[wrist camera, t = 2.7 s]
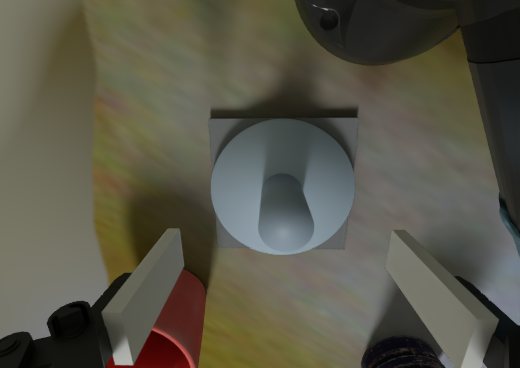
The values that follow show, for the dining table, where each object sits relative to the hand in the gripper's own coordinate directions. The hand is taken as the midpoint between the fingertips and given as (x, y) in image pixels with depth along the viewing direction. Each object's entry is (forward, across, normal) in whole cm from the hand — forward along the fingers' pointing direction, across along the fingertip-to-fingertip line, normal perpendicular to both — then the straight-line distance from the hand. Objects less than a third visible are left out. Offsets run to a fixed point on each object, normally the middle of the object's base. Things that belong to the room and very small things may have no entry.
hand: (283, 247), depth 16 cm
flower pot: (+12, -13, -14) cm, 22 cm away
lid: (+11, 0, 0) cm, 11 cm away
